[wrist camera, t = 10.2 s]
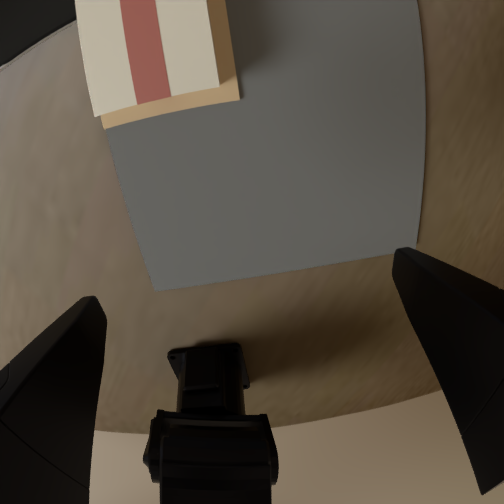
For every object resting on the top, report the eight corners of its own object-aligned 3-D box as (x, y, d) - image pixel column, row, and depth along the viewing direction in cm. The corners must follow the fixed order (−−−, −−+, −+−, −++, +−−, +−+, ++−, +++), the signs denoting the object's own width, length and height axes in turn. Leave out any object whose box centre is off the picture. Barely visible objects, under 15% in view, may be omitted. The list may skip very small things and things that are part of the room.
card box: (94, -39, 11) (70, -56, 8) (196, -67, 11) (191, -92, 8) (116, 108, 16) (94, 117, 13) (220, 85, 16) (219, 87, 13)
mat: (412, 245, 24) (417, 251, 23) (156, 287, 23) (154, 293, 23) (392, -87, 10) (397, -90, 9) (81, -63, 10) (77, -67, 9)
